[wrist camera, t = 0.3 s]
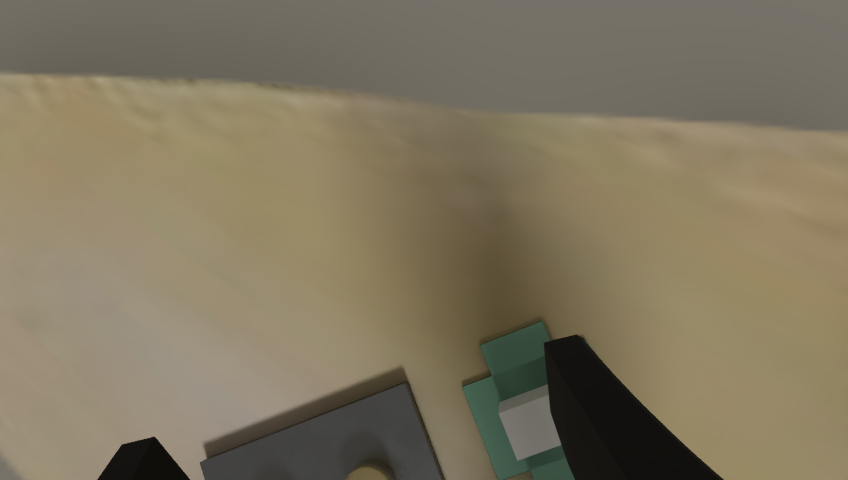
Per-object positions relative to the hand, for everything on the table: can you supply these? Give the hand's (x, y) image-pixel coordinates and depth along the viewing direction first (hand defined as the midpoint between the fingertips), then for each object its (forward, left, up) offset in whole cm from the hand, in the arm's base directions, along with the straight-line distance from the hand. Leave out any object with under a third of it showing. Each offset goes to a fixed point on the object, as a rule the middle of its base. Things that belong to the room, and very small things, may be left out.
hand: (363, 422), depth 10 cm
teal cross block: (-7, -3, -30) cm, 31 cm away
